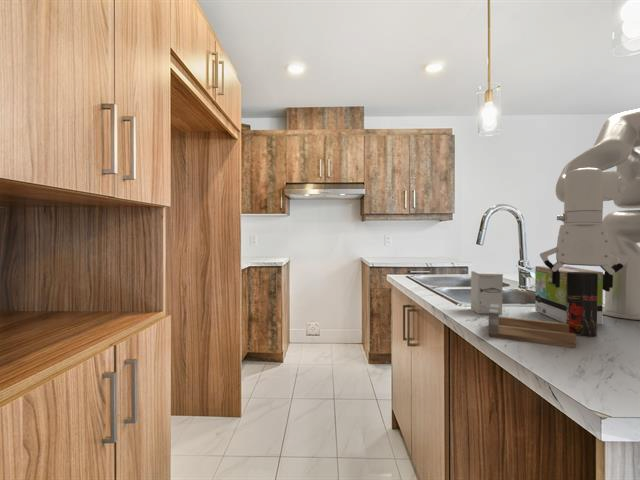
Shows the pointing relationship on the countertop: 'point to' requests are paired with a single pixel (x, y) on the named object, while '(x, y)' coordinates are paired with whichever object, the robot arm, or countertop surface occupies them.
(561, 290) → the tea box
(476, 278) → the supplement box
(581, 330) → the black package box
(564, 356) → the countertop surface
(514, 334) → the channel
